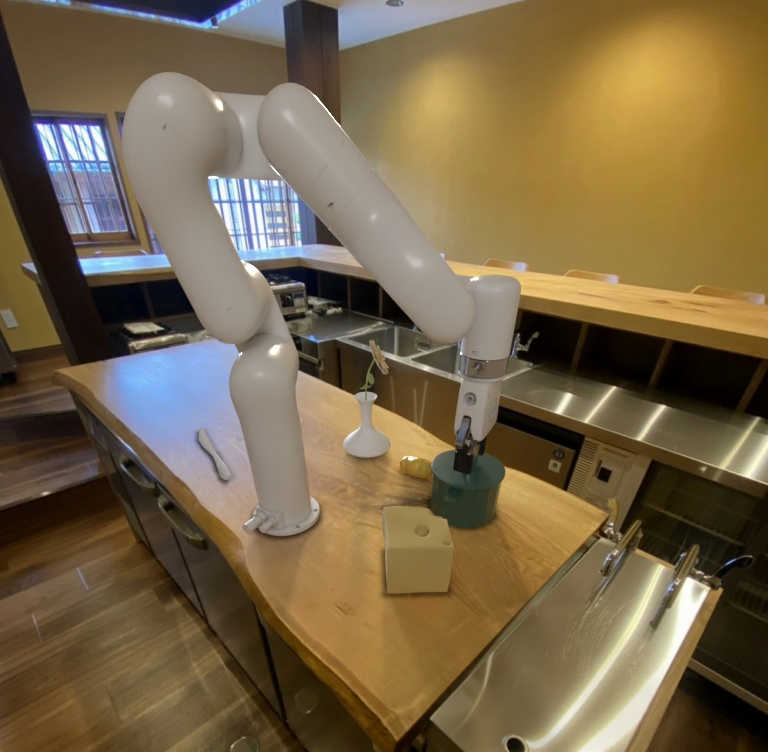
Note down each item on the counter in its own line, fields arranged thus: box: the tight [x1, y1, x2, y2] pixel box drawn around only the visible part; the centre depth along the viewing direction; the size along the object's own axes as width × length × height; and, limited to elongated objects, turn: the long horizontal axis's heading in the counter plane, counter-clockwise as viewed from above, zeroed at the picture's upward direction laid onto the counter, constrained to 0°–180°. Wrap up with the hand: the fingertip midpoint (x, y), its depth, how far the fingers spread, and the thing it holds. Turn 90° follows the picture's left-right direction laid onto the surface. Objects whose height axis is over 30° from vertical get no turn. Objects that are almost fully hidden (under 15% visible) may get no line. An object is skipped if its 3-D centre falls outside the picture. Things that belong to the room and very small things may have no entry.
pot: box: [429, 451, 502, 529], centre depth 82 cm, size 13×18×9 cm
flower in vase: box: [342, 339, 392, 459], centre depth 95 cm, size 13×11×25 cm
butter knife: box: [198, 428, 232, 481], centre depth 100 cm, size 1×27×3 cm
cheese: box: [381, 505, 455, 595], centre depth 67 cm, size 10×11×10 cm
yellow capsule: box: [399, 455, 433, 480], centre depth 92 cm, size 8×4×4 cm, turn 62°
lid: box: [431, 439, 506, 490], centre depth 77 cm, size 14×14×6 cm
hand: (468, 461), depth 78 cm, fingers open, 6 cm apart
